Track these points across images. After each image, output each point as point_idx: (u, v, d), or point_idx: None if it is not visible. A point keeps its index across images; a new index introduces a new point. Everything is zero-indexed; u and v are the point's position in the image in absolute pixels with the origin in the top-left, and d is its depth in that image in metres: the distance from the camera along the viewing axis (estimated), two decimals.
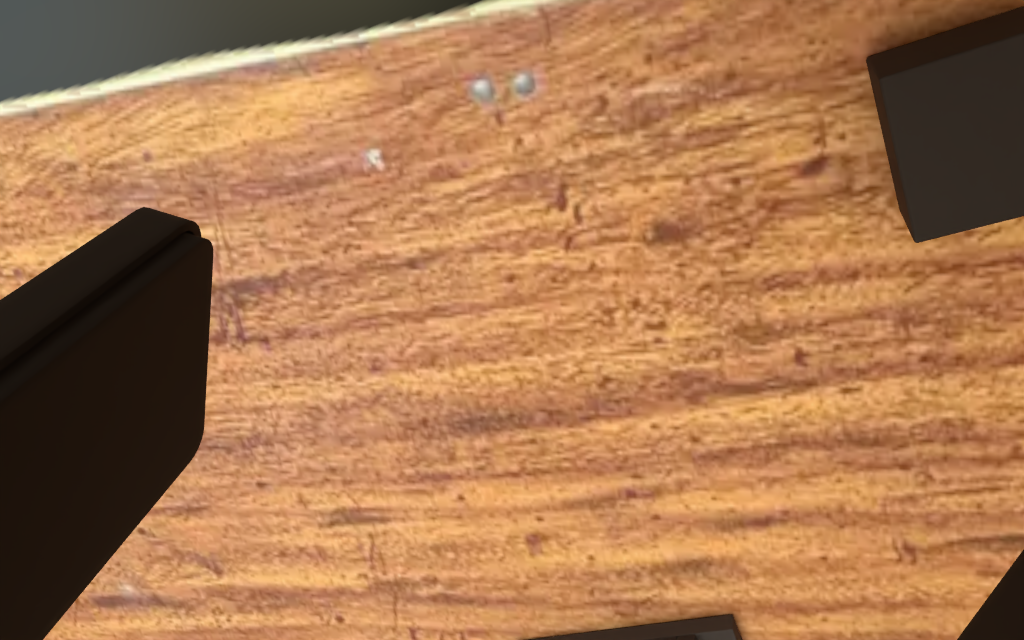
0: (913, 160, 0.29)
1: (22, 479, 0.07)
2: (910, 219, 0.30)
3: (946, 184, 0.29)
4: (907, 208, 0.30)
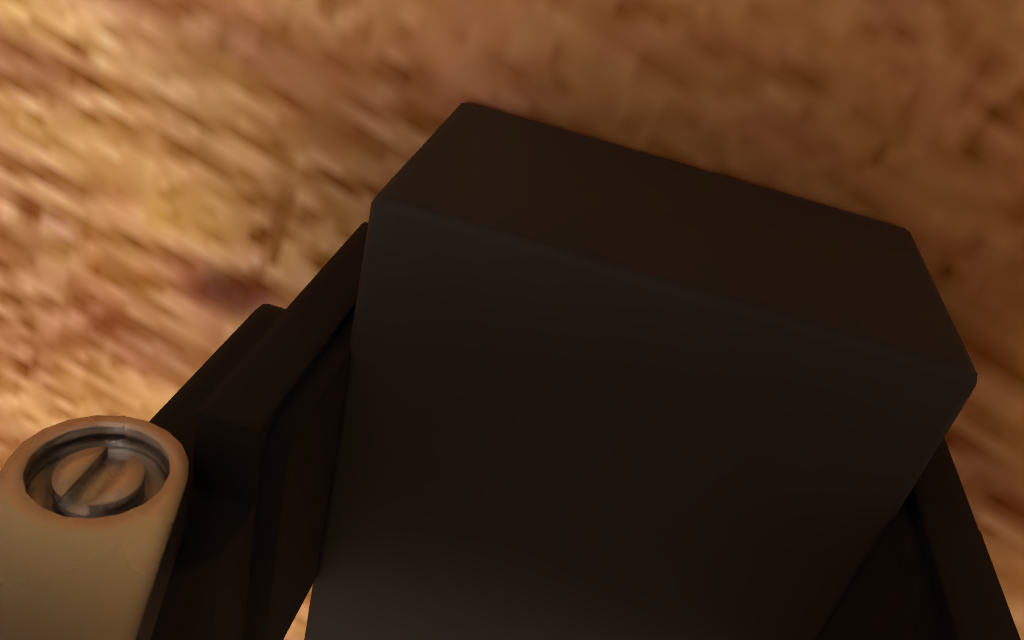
0: (375, 489, 0.09)
1: (312, 470, 0.08)
2: (310, 610, 0.10)
3: (433, 592, 0.09)
4: (314, 582, 0.10)
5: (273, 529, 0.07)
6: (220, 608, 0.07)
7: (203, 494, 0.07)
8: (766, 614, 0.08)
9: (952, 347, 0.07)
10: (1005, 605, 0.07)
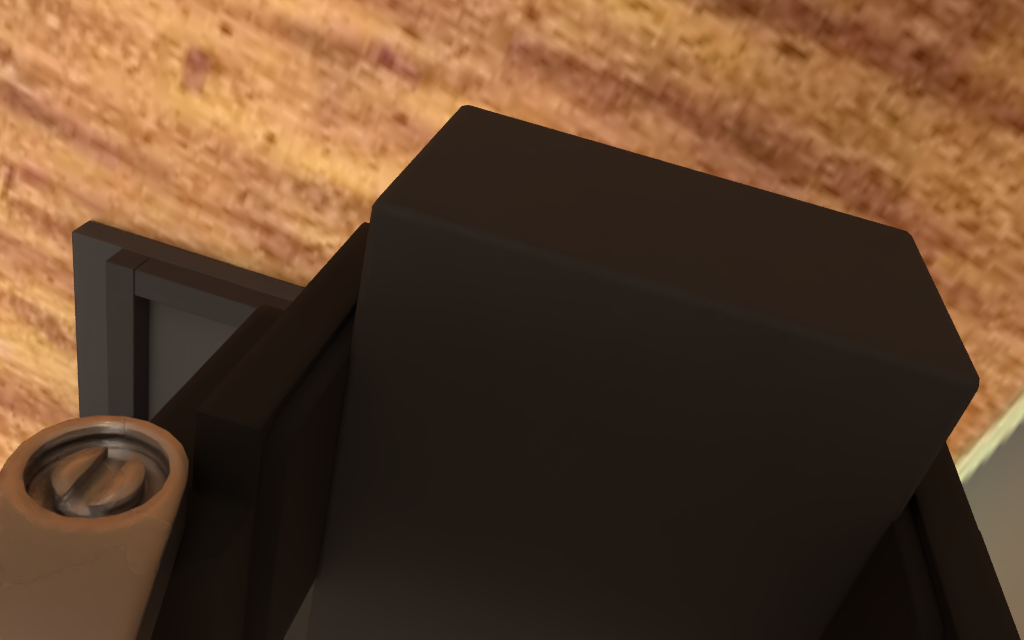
0: (375, 492, 0.09)
1: (313, 470, 0.08)
2: (310, 613, 0.10)
3: (435, 595, 0.09)
4: (315, 585, 0.10)
5: (273, 529, 0.07)
6: (220, 608, 0.07)
7: (203, 494, 0.07)
8: (767, 618, 0.08)
9: (955, 349, 0.07)
10: (1005, 605, 0.07)
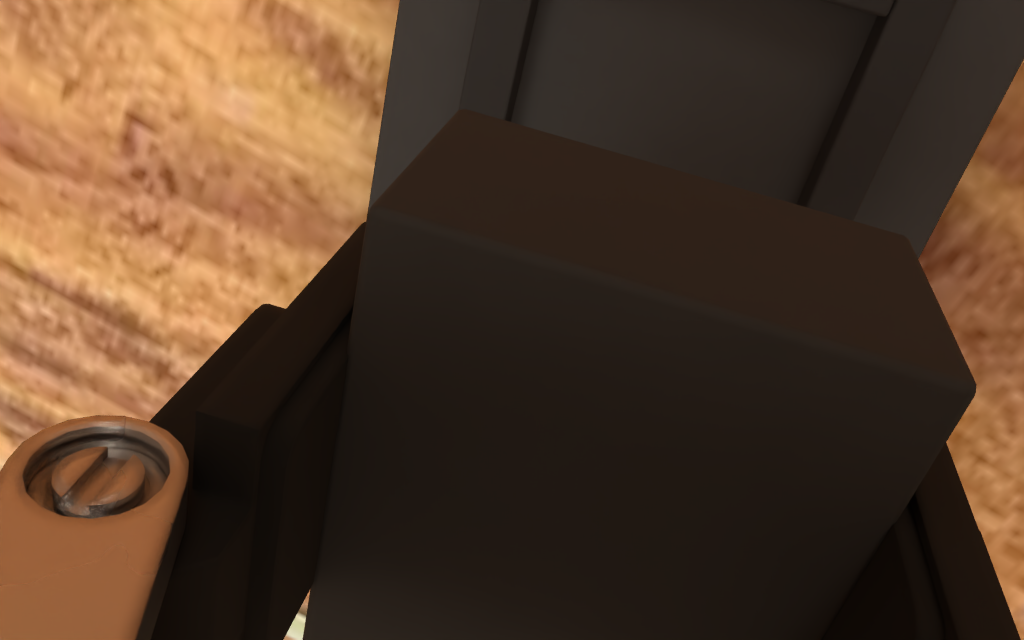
0: (372, 498, 0.09)
1: (313, 470, 0.08)
2: (307, 618, 0.10)
3: (432, 600, 0.09)
4: (312, 590, 0.10)
5: (273, 529, 0.07)
6: (220, 608, 0.07)
7: (203, 494, 0.07)
8: (764, 623, 0.08)
9: (951, 356, 0.07)
10: (1005, 605, 0.07)
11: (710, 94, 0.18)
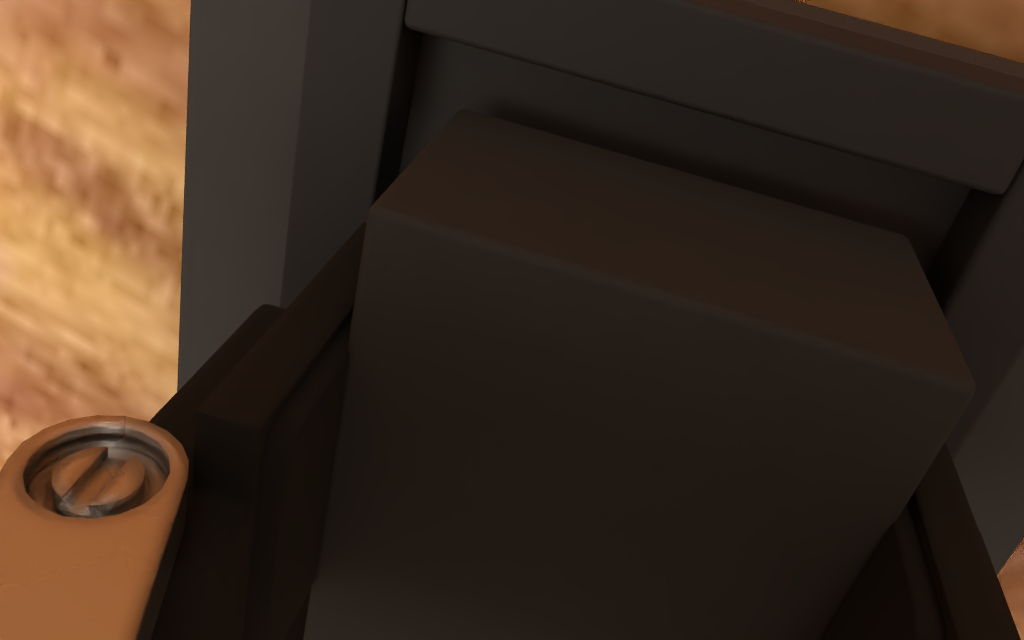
0: (372, 496, 0.09)
1: (313, 470, 0.08)
2: (308, 617, 0.10)
3: (431, 599, 0.09)
4: (312, 589, 0.10)
5: (273, 529, 0.07)
6: (220, 608, 0.07)
7: (203, 494, 0.07)
8: (764, 622, 0.08)
9: (950, 356, 0.07)
10: (1005, 605, 0.07)
11: None
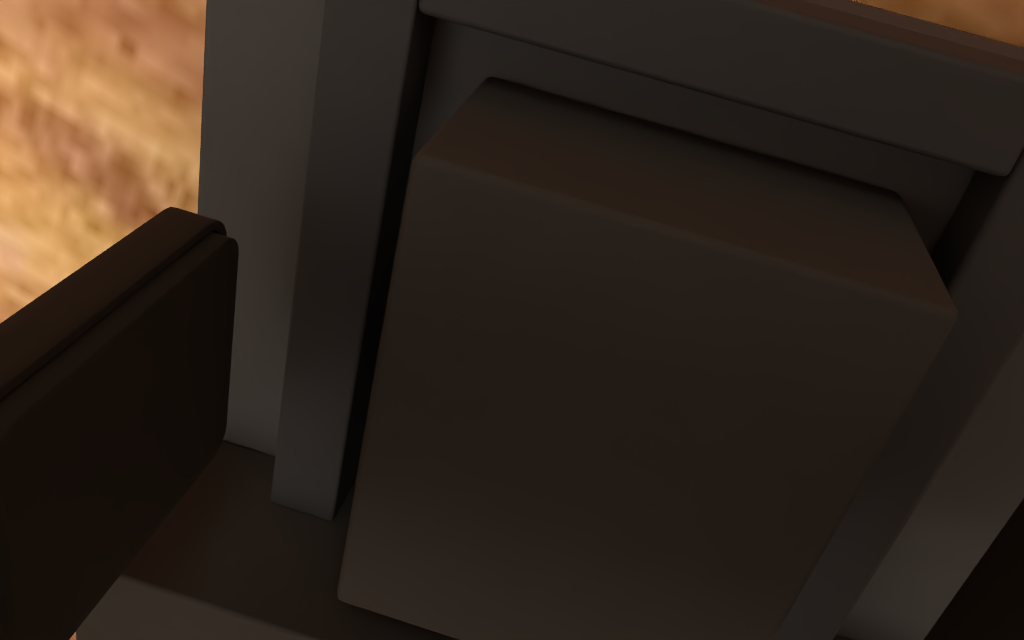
0: (411, 427, 0.09)
1: (59, 474, 0.07)
2: (346, 547, 0.11)
3: (461, 526, 0.10)
4: (351, 519, 0.10)
5: None
6: None
7: None
8: (768, 540, 0.09)
9: (936, 288, 0.08)
10: None
11: None
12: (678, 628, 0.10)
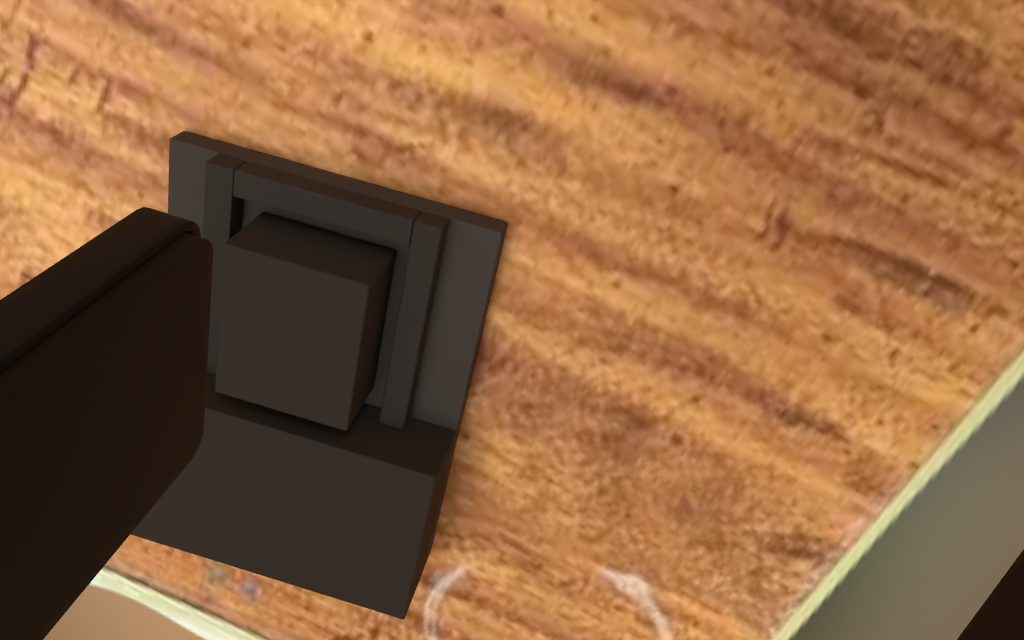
0: (231, 325, 0.30)
1: (22, 479, 0.07)
2: (216, 370, 0.31)
3: (251, 359, 0.31)
4: (217, 360, 0.31)
5: None
6: None
7: None
8: (340, 358, 0.30)
9: (368, 279, 0.29)
10: None
11: None
12: (323, 392, 0.31)
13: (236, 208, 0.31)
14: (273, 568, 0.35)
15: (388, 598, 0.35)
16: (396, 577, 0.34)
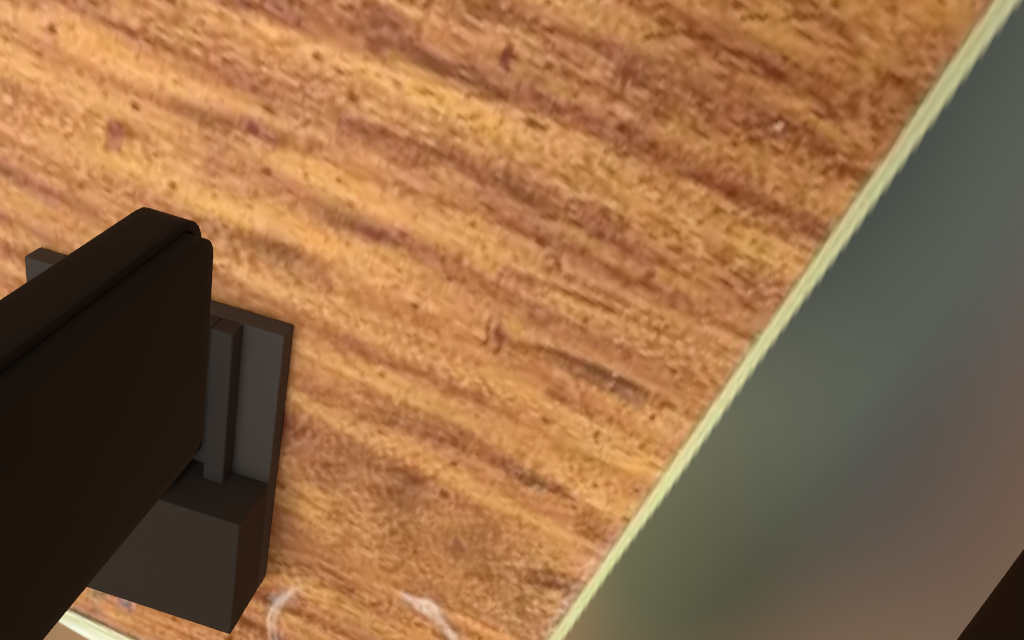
0: None
1: (22, 479, 0.07)
2: None
3: None
4: None
5: None
6: None
7: None
8: None
9: None
10: None
11: None
12: None
13: None
14: (124, 591, 0.43)
15: (216, 617, 0.43)
16: (219, 601, 0.42)
